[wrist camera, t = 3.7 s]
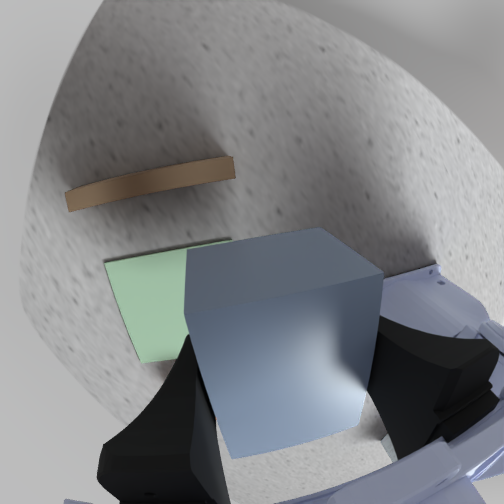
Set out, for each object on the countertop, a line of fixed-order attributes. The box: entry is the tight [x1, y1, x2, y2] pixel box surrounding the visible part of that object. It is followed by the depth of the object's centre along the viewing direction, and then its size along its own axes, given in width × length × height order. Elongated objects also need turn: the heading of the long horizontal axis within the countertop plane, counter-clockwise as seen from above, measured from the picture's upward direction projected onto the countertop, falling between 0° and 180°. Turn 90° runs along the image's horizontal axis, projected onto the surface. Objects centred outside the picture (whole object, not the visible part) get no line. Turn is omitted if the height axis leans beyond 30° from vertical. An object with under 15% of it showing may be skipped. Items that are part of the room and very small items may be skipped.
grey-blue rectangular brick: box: [184, 227, 384, 459], centre depth 11 cm, size 6×8×5 cm
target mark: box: [104, 239, 232, 363], centre depth 21 cm, size 9×9×1 cm
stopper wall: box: [65, 156, 236, 212], centre depth 16 cm, size 10×1×2 cm, turn 97°
